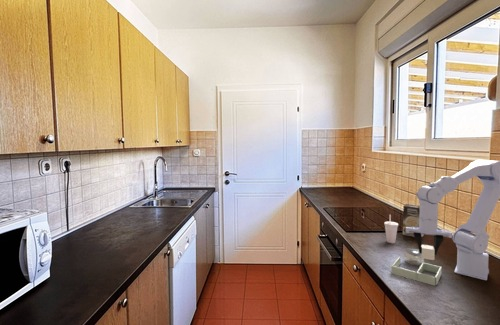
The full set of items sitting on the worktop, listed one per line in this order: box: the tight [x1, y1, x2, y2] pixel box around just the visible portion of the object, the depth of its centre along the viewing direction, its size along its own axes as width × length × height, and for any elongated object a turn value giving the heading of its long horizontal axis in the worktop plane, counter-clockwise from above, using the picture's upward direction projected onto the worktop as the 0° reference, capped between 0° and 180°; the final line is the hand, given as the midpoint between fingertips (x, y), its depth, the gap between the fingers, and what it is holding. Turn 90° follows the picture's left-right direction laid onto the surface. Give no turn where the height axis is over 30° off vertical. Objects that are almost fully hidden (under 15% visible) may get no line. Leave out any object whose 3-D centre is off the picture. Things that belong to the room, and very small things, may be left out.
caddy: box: [390, 256, 442, 287], centre depth 105 cm, size 14×11×3 cm
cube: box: [421, 244, 436, 261], centre depth 103 cm, size 4×4×4 cm
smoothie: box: [383, 214, 399, 244], centre depth 138 cm, size 6×6×14 cm
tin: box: [405, 248, 425, 267], centre depth 114 cm, size 7×7×5 cm
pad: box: [422, 270, 437, 277], centre depth 102 cm, size 5×10×1 cm, turn 137°
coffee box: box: [402, 203, 425, 238], centre depth 147 cm, size 9×6×16 cm
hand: (427, 253), depth 103 cm, fingers closed on cube, 4 cm apart
